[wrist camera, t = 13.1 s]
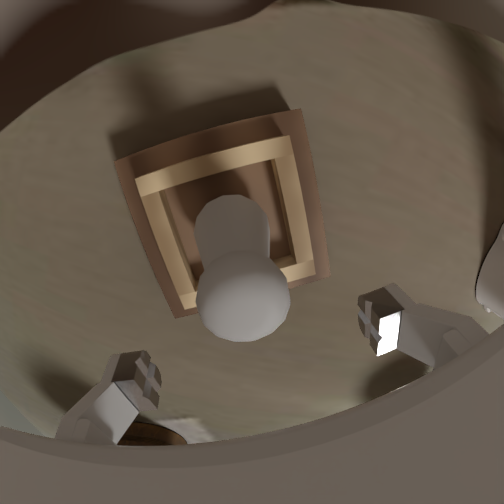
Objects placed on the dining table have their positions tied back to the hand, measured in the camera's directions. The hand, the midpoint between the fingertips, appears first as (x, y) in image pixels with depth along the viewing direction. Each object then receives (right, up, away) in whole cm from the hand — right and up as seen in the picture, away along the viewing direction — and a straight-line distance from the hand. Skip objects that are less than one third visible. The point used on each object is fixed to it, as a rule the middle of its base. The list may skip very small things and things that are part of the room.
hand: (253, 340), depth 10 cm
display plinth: (-2, +7, +16) cm, 18 cm away
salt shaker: (-2, +6, +14) cm, 15 cm away
